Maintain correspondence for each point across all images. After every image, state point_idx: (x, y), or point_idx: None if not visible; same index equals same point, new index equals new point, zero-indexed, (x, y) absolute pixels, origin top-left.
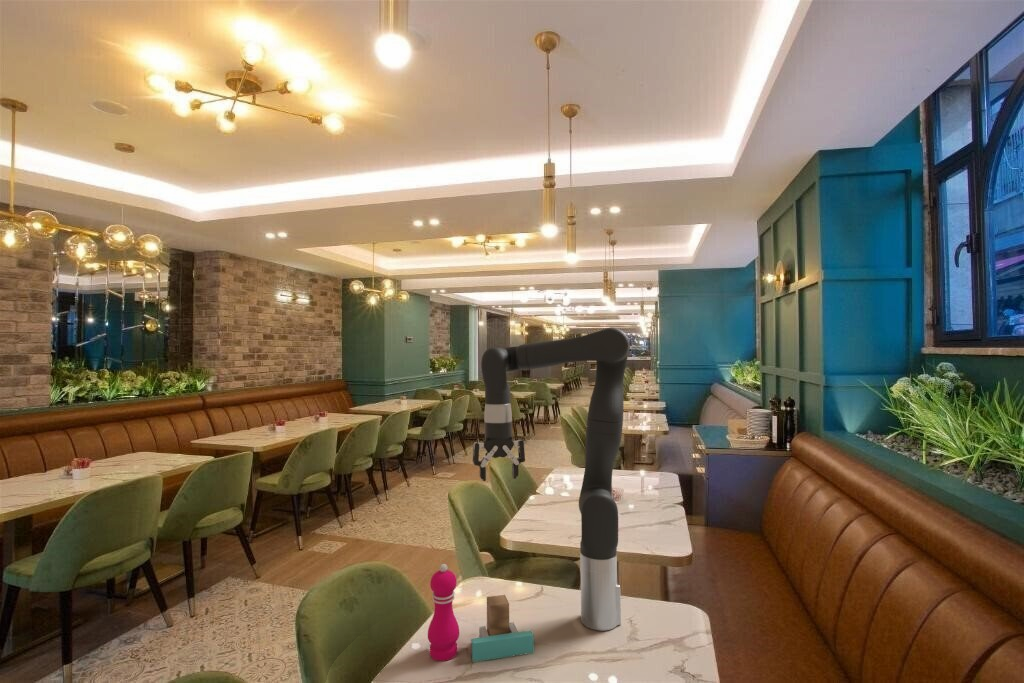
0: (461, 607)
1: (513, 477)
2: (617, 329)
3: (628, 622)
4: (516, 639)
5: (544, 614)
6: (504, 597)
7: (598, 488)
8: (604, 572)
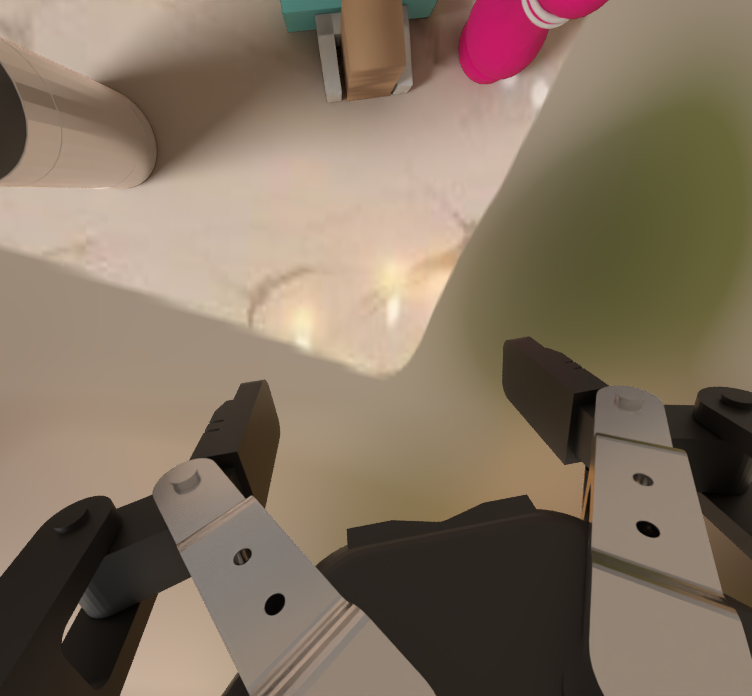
0: (433, 251)
1: (268, 396)
2: None
3: None
4: None
5: (249, 195)
6: (353, 49)
7: None
8: None
